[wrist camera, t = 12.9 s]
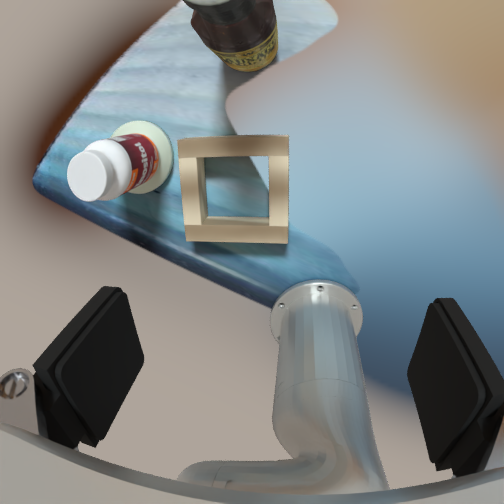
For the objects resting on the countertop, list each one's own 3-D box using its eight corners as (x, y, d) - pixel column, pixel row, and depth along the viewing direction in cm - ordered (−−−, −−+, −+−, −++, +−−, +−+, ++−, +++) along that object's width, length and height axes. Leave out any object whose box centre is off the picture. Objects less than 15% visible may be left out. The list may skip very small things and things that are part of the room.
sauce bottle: (231, 80, 31) (158, 48, 13) (215, 32, 29) (134, -35, 11) (289, 64, 30) (282, 7, 12) (272, 16, 27) (246, -76, 10)
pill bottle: (162, 183, 36) (115, 212, 26) (117, 182, 37) (64, 209, 27) (161, 131, 34) (112, 142, 24) (116, 133, 34) (58, 146, 24)
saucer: (176, 190, 37) (173, 192, 36) (114, 193, 38) (110, 195, 38) (171, 116, 34) (168, 116, 33) (106, 125, 35) (102, 126, 34)
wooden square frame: (288, 233, 38) (287, 243, 35) (193, 231, 39) (186, 241, 37) (288, 134, 33) (288, 136, 30) (186, 137, 35) (177, 140, 32)
